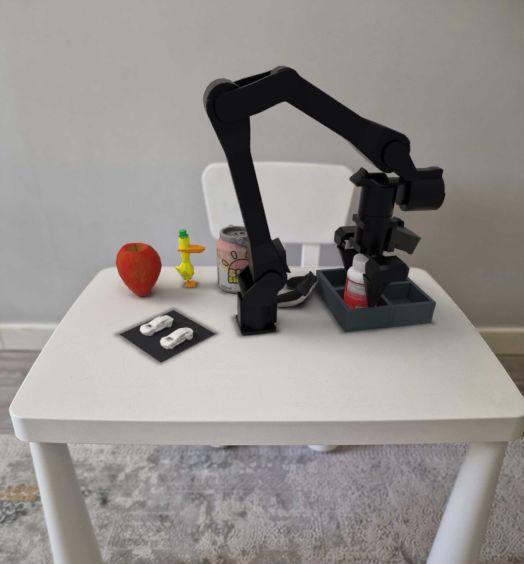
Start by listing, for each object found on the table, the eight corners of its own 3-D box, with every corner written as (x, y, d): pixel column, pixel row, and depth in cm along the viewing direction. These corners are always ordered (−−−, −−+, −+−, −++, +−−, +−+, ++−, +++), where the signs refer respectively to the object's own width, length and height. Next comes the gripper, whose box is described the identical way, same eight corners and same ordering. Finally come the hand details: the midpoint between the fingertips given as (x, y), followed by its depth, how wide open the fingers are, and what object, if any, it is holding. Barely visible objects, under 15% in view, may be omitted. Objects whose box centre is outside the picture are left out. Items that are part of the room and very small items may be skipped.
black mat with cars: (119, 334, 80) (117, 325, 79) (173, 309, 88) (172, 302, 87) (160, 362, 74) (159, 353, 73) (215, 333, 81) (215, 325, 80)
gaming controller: (281, 319, 89) (308, 303, 85) (267, 302, 89) (293, 284, 84) (299, 295, 98) (323, 279, 93) (286, 279, 97) (310, 262, 92)
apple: (167, 284, 96) (161, 235, 90) (161, 304, 89) (154, 252, 83) (126, 284, 96) (118, 235, 90) (117, 304, 89) (107, 252, 83)
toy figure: (208, 281, 98) (205, 227, 91) (206, 289, 95) (203, 234, 88) (176, 281, 98) (171, 226, 91) (174, 288, 95) (168, 233, 88)
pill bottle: (356, 301, 90) (365, 248, 83) (381, 313, 86) (392, 259, 80) (335, 311, 86) (342, 256, 80) (359, 324, 83) (369, 268, 76)
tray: (344, 332, 82) (347, 311, 80) (314, 288, 96) (316, 269, 94) (431, 322, 86) (436, 302, 83) (389, 281, 99) (393, 263, 97)
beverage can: (255, 274, 101) (256, 221, 94) (265, 292, 94) (267, 236, 87) (214, 279, 99) (211, 225, 92) (222, 297, 92) (220, 240, 85)
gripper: (450, 228, 69) (426, 316, 78) (394, 193, 84) (380, 270, 93) (382, 233, 67) (366, 323, 76) (337, 196, 82) (328, 274, 91)
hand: (361, 295), depth 84 cm, fingers open, 8 cm apart
